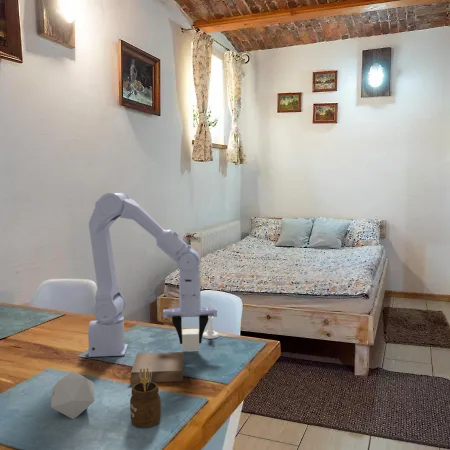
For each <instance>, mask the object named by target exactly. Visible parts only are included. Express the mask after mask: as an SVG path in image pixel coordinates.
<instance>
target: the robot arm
mask: <svg viewBox="0 0 450 450" xmlns="http://www.w3.org/2000/svg"><path fill="white" fill-rule="evenodd" d="M119 218H121V219H127V220H133V221H134V222H136V224H138V225H139V226H140V227H141V228H143V230H145V231H146V232H147V233H148V234H150V235H151V236H152V237H153V238H155V240H156V247H158V249H160V250H161V251H163V252H164V254H166V255H167V257H169V258H170V259H171V260H172V261H174V262H176V266H177V268H178V270H179V278H178V281H179V283H178V286H179V289H178V291H179V293H178V294H179V307H176V308H168V309H167V308H166V309H164V308H163V311H162V312H163V313H162V319H168V318H171V319H172V320H171V321H172V324H173V326H174V328H175V330H176V333H177V336H178V340H179V344H180V345H182V329H183V327H182V323H183V322H182V319H183V318H189V317H194V318H195V317H198V326H199V327H198V329H199V344H202V342H203V341H202V339H203V337H202V336H203V333H204V332H205V329H206V326H207V325H208V323H209V319H208V316H212V317H214V318H215V317H216V318H217V317H218V308H217V307H211V308H209V307H202V306H201V276H200V275H201V270H200V264H201V262H202V256H201V254H200V252H199V251H198V250H197V249H196V248H194V247H192V245H191V244H190V243H189V244H187V243H186V242H185V241H184V240H183V239H182V238H181V237H179V235H180V233H179V232H178V231H177V230H176V231H173V230H172V229H164V228H163V227H162V226H161V225H160V224H159V223H158V222H157V221H156V220H155V219H154V218H153V217H152V215H150V214H149V213H148V212H147V211H146V210H145V209H144V208H143V207H142V206H141V205H140V204H138V202H136V201H135V200H134V199H133V198H130V197H129V195H128V194H126V193H125V192H121V191H118V192H107V193H104V194H102V195H101V196H100V198H98V199H97V200H96V201H95V203H94V209H93V211H92V214H91V216H90V218H89V221H88V231H89V237H90V245H91V250H92V257H93V264H94V271H95V278H96V285H97V289H96V292H95V297H94V300H95V304H94V307H93V316H94V318H95V319H96V320H90V321H89V323H88V324H89V325H88V328H87V329H88V330H87V331H88V332H87V335H88V336H87V337H88V358H91V357H92V358H93V357H94V358H96V357H97V358H98V357H118V356H119V357H123V356H125V354H126V351H127V349H128V346H129V345H128V343H125V317H124V315H123V312H124V310H125V308H126V299H125V298H124V296H123V294H122V292H121V288H120V286H119V284H118V283H117V277H116V274H117V273H116V268H115V261H114V260H115V259H114V254H113V253H114V252H113V247H112V240H111V231H110V228H111V226H112V225H113V224H114V223H115V222H116V221H117V219H119Z"/></svg>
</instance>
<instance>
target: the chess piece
mask: <svg viewBox="0 0 450 450" xmlns="http://www.w3.org/2000/svg"><path fill="white" fill-rule="evenodd" d="M208 308H212V304H211V303H208ZM214 319H215V317H213V316H208V323H207V325H208V326H207V330H206V331H204V332H203V336H202V339H203V338H204V339H209V340H210V339H212V340H213V339H217V338H219V335H220V334H219V332H217V331H215V330H214V326H213V320H214Z"/></svg>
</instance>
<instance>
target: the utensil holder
mask: <svg viewBox="0 0 450 450" xmlns="http://www.w3.org/2000/svg"><path fill="white" fill-rule="evenodd" d="M148 364H149V363H148ZM141 365H142V366H143V364H141ZM150 366H151V365H150ZM150 366H149V370H150ZM143 375H144V378H142V367H141V369H140V383H134V385H132V387H131V392H130V393H131V396H130V400H129V401H130V402H129V414H130V423H131V425H132V426H134V427H135V428H138V429H146V428H147V429H148V428H152V427H154V426H157V425H158V424H159V422H161V417H162V405H161V402H162V401H161V395H160V392H159V386H158V383H157V382H149V380H150V377H149V376H148V368H147V378H145V376H146V363H145V368H144V369H143ZM151 376H152V370H151ZM150 381H151V380H150Z"/></svg>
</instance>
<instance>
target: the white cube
mask: <svg viewBox="0 0 450 450" xmlns="http://www.w3.org/2000/svg"><path fill="white" fill-rule="evenodd" d="M181 345H182V346H181V348H182V349H181V350H182V351H181V352H184V351H186V352H187V351H189V352H190V351H191V352H192V351H200V343H199V328H186V329H184V328H182V344H181Z"/></svg>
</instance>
